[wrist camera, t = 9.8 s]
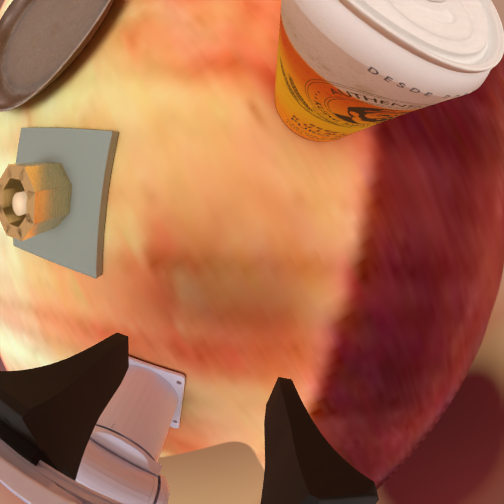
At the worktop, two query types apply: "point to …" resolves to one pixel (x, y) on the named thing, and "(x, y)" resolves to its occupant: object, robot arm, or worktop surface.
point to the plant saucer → (43, 43)
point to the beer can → (378, 59)
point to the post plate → (72, 194)
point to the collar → (34, 198)
